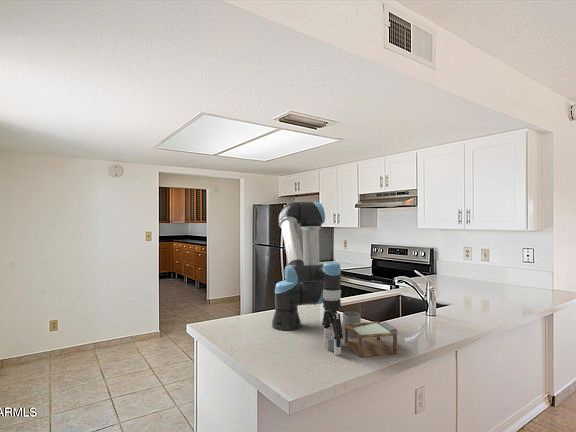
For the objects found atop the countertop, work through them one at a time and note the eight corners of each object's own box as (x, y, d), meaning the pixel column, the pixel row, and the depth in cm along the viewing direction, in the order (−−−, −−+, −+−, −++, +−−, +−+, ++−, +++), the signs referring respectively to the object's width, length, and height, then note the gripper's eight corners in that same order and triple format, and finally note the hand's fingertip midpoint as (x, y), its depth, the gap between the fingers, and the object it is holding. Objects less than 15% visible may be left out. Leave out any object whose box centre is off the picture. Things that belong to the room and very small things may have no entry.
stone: (328, 351, 149) (328, 339, 149) (324, 347, 154) (324, 335, 154) (339, 350, 150) (339, 338, 150) (335, 346, 155) (335, 334, 155)
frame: (359, 357, 142) (359, 336, 142) (344, 342, 158) (344, 323, 158) (397, 353, 145) (397, 333, 145) (378, 340, 162) (378, 321, 162)
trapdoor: (362, 341, 144) (361, 337, 144) (350, 331, 157) (349, 327, 157) (398, 333, 148) (398, 329, 148) (384, 324, 160) (383, 320, 160)
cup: (348, 330, 175) (348, 310, 175) (363, 334, 170) (363, 313, 170) (339, 335, 169) (339, 314, 169) (355, 339, 163) (355, 317, 163)
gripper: (351, 305, 140) (351, 358, 140) (330, 292, 165) (331, 338, 164) (333, 306, 139) (333, 360, 138) (315, 293, 163) (315, 339, 163)
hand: (332, 348), depth 151 cm, fingers open, 13 cm apart
